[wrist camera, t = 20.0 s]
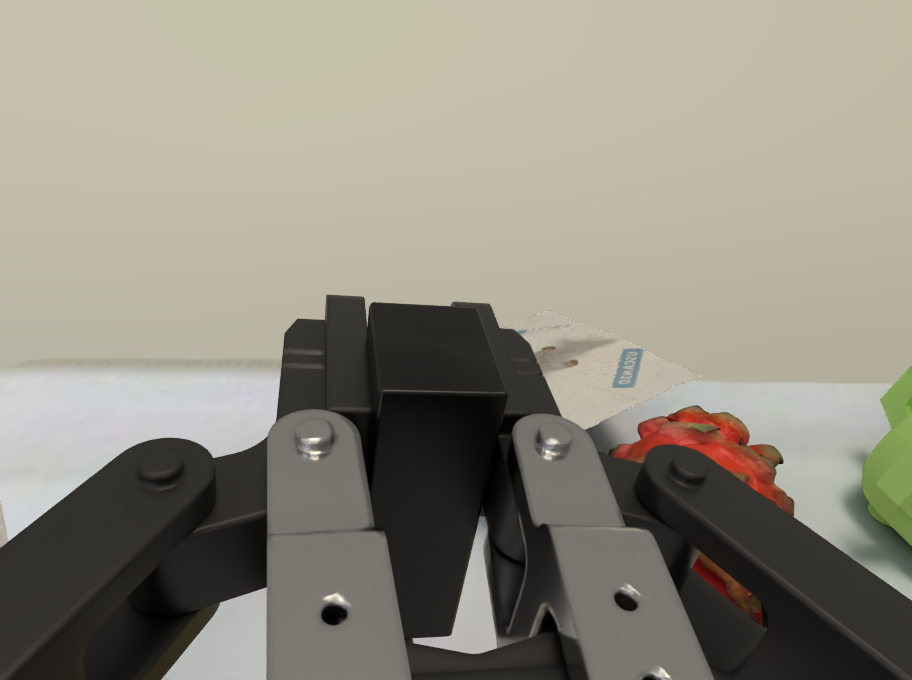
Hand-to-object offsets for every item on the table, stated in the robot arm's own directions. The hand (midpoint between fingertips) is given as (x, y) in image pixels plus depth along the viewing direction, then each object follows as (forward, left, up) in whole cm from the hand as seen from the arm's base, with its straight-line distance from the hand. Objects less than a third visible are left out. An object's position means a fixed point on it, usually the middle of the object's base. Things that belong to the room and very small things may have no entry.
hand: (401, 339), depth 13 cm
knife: (-1, +3, -12) cm, 12 cm away
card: (-8, -20, -18) cm, 28 cm away
